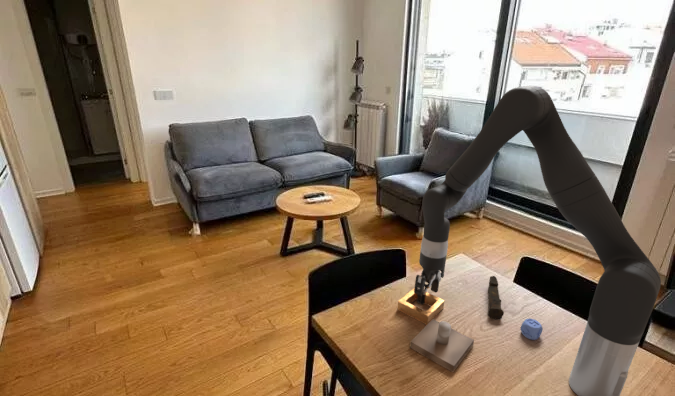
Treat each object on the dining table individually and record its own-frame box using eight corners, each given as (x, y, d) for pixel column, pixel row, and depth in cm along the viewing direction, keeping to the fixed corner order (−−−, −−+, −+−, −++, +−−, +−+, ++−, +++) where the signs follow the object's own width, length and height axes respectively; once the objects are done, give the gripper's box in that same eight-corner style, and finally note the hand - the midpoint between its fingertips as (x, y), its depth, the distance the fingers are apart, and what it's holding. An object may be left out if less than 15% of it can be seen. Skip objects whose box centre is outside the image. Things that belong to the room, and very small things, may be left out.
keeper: (473, 345, 97) (477, 324, 95) (452, 372, 89) (456, 349, 86) (432, 324, 105) (434, 304, 102) (409, 347, 96) (412, 325, 94)
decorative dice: (533, 342, 99) (536, 330, 98) (519, 333, 102) (521, 321, 101) (541, 336, 101) (544, 324, 100) (527, 328, 104) (530, 316, 103)
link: (443, 308, 112) (444, 300, 111) (427, 324, 105) (428, 316, 104) (414, 295, 118) (415, 287, 117) (397, 309, 111) (398, 301, 110)
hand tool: (502, 322, 107) (505, 308, 105) (487, 318, 108) (490, 305, 106) (499, 287, 123) (502, 275, 122) (487, 284, 125) (489, 272, 123)
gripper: (433, 264, 100) (427, 313, 106) (456, 246, 110) (449, 292, 116) (409, 255, 105) (404, 302, 111) (433, 238, 115) (428, 282, 121)
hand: (427, 297), depth 114 cm, fingers open, 8 cm apart
